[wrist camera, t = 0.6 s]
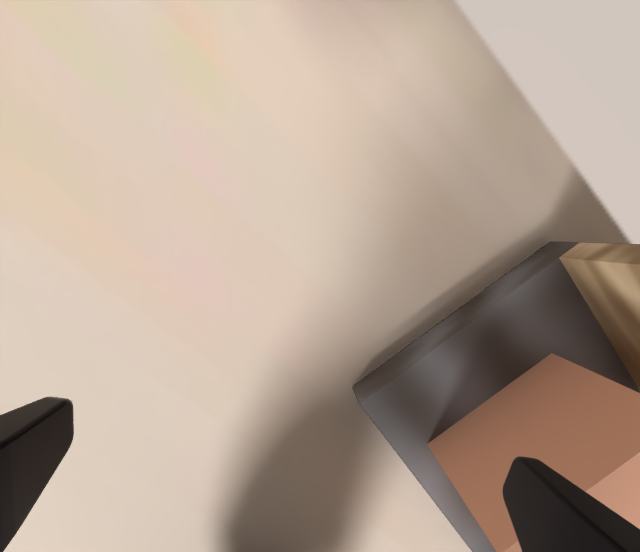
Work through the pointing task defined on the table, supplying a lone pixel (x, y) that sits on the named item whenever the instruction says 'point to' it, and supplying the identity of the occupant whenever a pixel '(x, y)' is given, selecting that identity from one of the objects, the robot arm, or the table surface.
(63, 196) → the table surface
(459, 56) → the table surface
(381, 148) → the table surface
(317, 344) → the table surface
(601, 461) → the terracotta block
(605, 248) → the stop jig
